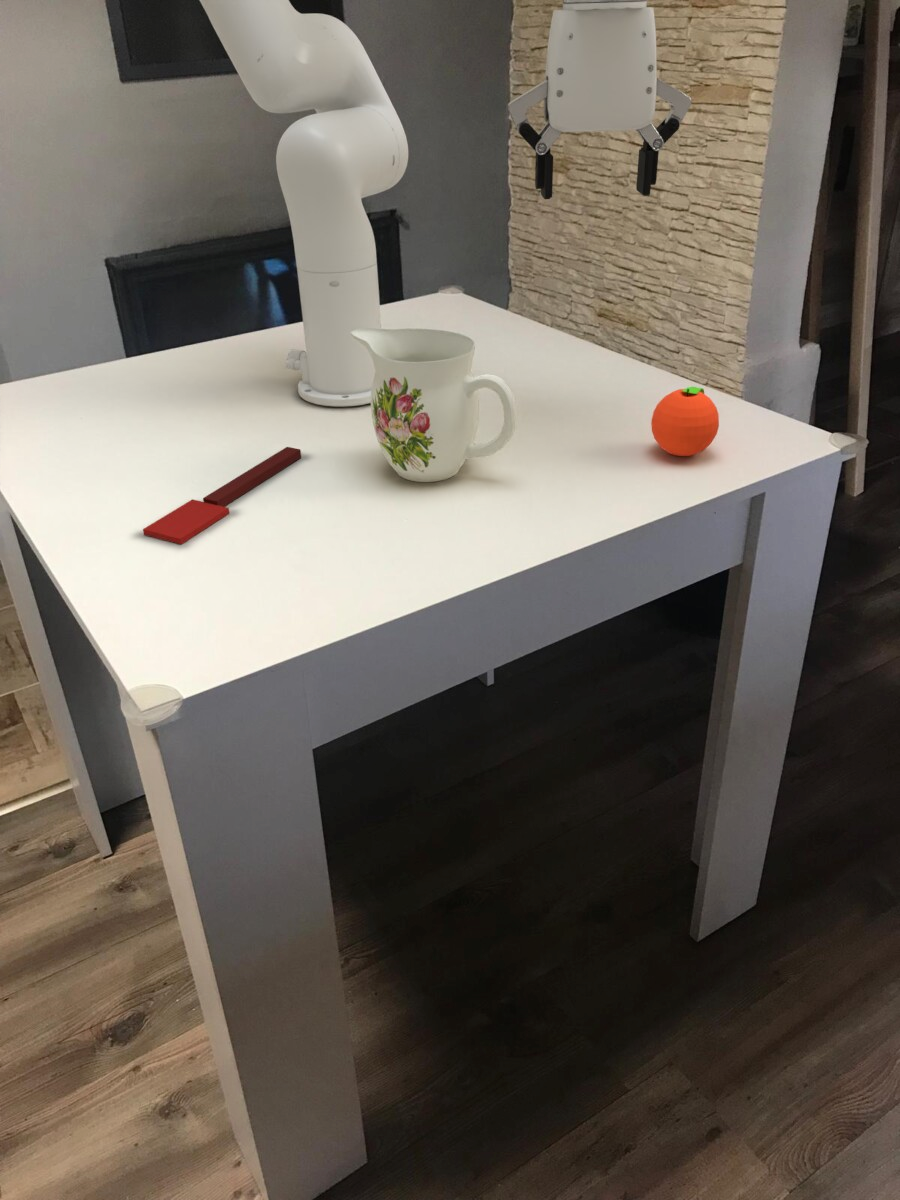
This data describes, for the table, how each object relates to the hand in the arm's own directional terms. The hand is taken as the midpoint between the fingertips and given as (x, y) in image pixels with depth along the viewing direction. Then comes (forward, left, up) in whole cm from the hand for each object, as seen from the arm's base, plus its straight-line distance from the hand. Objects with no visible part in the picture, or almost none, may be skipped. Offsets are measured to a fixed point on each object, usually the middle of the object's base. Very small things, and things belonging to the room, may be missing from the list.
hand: (594, 195), depth 95 cm
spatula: (-26, -30, -25) cm, 47 cm away
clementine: (+12, -1, -25) cm, 28 cm away
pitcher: (-10, -16, -25) cm, 31 cm away
